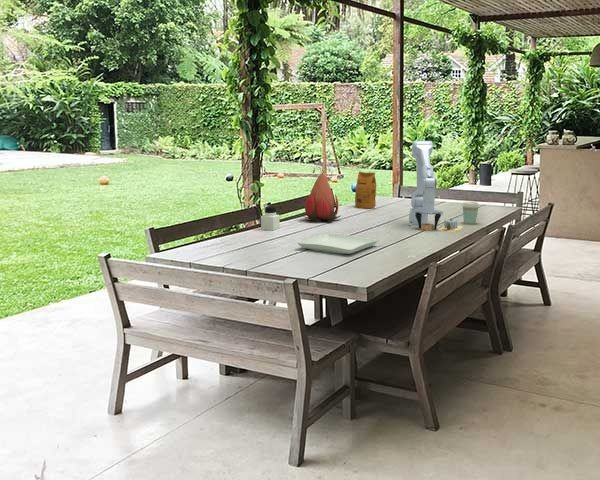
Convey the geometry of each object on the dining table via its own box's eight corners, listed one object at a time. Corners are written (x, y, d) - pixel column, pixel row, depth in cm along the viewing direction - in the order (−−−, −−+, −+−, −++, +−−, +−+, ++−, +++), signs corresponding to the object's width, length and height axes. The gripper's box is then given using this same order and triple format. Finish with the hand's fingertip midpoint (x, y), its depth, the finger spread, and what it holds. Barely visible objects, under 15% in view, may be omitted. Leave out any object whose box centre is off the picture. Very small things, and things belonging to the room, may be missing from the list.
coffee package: (360, 205, 436) (360, 170, 431) (377, 207, 429) (378, 171, 425) (352, 207, 427) (352, 171, 423) (370, 209, 421) (371, 173, 416)
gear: (443, 228, 354) (443, 219, 354) (445, 225, 360) (445, 217, 359) (456, 228, 352) (456, 220, 351) (458, 226, 358) (458, 218, 357)
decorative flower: (321, 225, 367) (321, 168, 362) (292, 219, 384) (292, 164, 379) (350, 220, 382) (351, 165, 376) (321, 215, 399) (322, 162, 393)
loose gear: (420, 231, 349) (420, 224, 349) (422, 229, 355) (423, 223, 354) (432, 232, 347) (432, 225, 347) (434, 230, 353) (434, 223, 352)
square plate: (351, 257, 293) (351, 248, 292) (295, 250, 307) (295, 241, 306) (379, 246, 315) (379, 238, 314) (326, 240, 329) (326, 232, 328)
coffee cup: (478, 227, 363) (479, 204, 361) (461, 226, 365) (462, 203, 362) (477, 224, 371) (478, 201, 369) (461, 223, 373) (462, 201, 370)
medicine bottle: (279, 228, 357) (279, 205, 355) (273, 230, 351) (273, 207, 348) (267, 227, 360) (267, 204, 358) (260, 229, 354) (260, 206, 351)
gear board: (435, 232, 348) (436, 223, 347) (441, 226, 364) (442, 218, 363) (458, 234, 344) (458, 225, 343) (463, 227, 360) (463, 219, 359)
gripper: (412, 201, 347) (411, 228, 350) (441, 203, 342) (440, 230, 345) (415, 200, 353) (414, 226, 356) (444, 201, 348) (443, 228, 351)
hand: (427, 228), depth 351 cm, fingers open, 7 cm apart
